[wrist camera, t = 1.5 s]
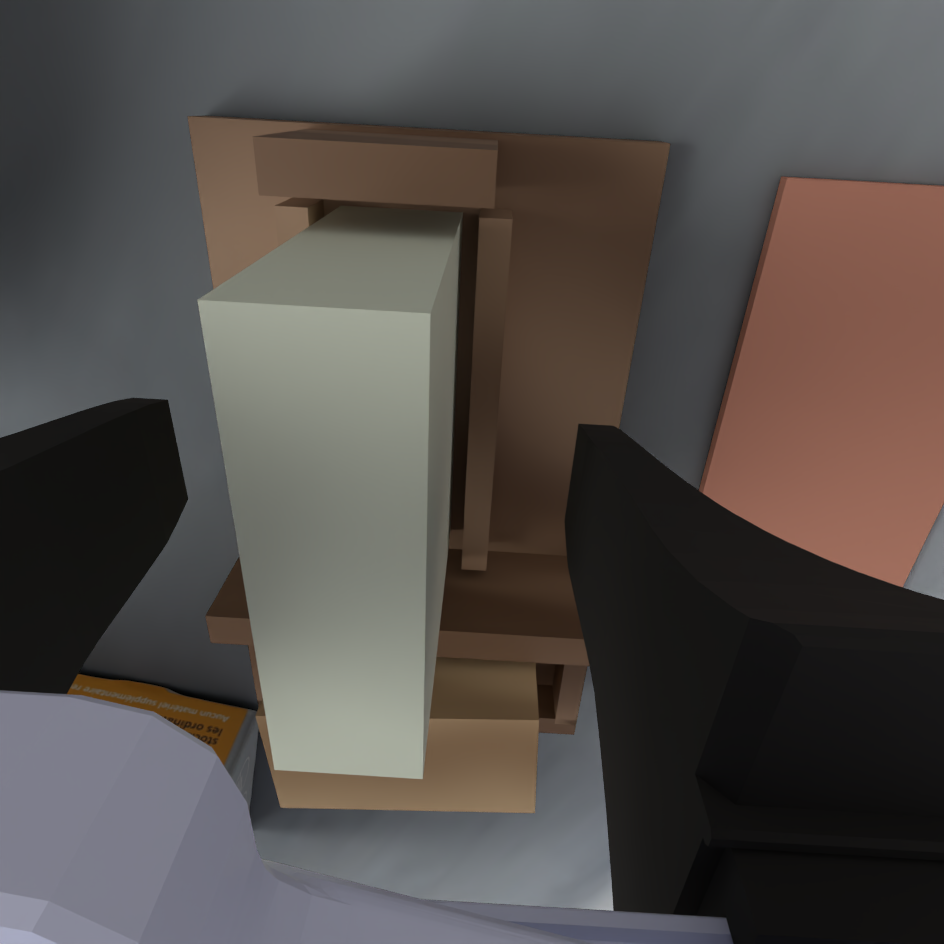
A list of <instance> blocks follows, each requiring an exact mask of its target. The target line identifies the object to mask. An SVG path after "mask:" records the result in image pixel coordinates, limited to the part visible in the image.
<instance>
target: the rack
mask: <svg viewBox="0 0 944 944" xmlns="http://www.w3.org/2000/svg"><path fill="white" fill-rule="evenodd" d="M188 123H189V130H190V136H191V143H192V150H193V156H194V163H195V170H196V176H197V183H198V189H199V196H200V203H201V209H202V216H203V223H204V229H205V236H206V243H207V249H208V256H209V263H210V269H211V276H212V283H213V289H215V288H216V287H218V286H219V285H221V284H222V283H224V282H226V281H227V280H229V279H230V278H232V277H233V276H235V275H236V274H238V273H239V272H241V271H242V270H244V269H245V268H247V267H248V266H250V265H251V264H253V263H254V262H256V261H258V260H259V259H261V258H262V257H264V256H265V255H267V254H268V253H270V252H271V251H273V250H274V249H276V248H277V247H279V246H280V245H282V244H283V243H285V242H286V241H288V240H290V239H291V238H293V237H294V236H296V235H297V234H299V233H300V232H302V231H303V230H305V229H306V228H308V227H309V226H311V225H312V224H314V223H315V222H317V221H318V220H320V219H321V218H323V217H325V216H326V215H328V214H329V213H331V212H332V211H334V210H335V209H337V208H338V207H340V206H358V207H376V208H393V209H411V210H428V211H446V212H463V223H462V249H461V274H460V300H459V326H458V351H457V377H456V403H455V428H454V454H453V480H452V505H451V530H450V539H449V548H448V557H447V566H446V575H445V584H444V593H443V602H442V611H441V620H440V629H439V638H438V647H437V656H436V657H449V658H465V659H482V660H498V661H514V662H530V663H536V682H537V697H538V712H539V732H541V733H557V734H573V735H574V732H575V727H576V722H577V717H578V711H579V706H580V701H581V696H582V691H583V685H584V680H585V675H586V670H587V666H590V665H589V660H588V656H587V651H586V647H585V643H584V638H583V634H582V629H581V625H580V620H579V616H578V611H577V607H576V602H575V598H574V593H573V589H572V584H571V579H570V575H569V570H568V563H567V551H566V538H565V523H564V520H565V513H566V506H567V499H568V492H569V486H570V479H571V472H572V465H573V458H574V451H575V444H576V437H577V431H578V424H594V425H611V426H615V427H617V428H618V429H619V426H620V421H621V415H622V410H623V404H624V399H625V393H626V388H627V382H628V377H629V371H630V365H631V360H632V354H633V349H634V343H635V338H636V332H637V327H638V321H639V316H640V310H641V305H642V299H643V293H644V288H645V282H646V277H647V271H648V266H649V260H650V255H651V249H652V244H653V238H654V233H655V227H656V221H657V216H658V210H659V205H660V199H661V194H662V188H663V183H664V177H665V172H666V166H667V161H668V155H669V149H670V143H666V142H661V141H645V140H627V139H609V138H591V137H574V136H556V135H538V134H520V133H503V132H485V131H467V130H450V129H432V128H414V127H396V126H379V125H361V124H343V123H325V122H308V121H290V120H272V119H255V118H237V117H219V116H188ZM205 617H206V622H207V627H208V631H209V636H210V641H211V643H222V644H238V645H248V648H249V654H250V660H251V666H252V672H253V678H254V684H255V690H256V695H257V701H258V707H259V705H260V703H261V700H262V698H263V697H262V691H261V685H260V679H259V673H258V666H257V660H256V654H255V648H254V642H253V636H252V630H251V624H250V618H249V612H248V605H247V599H246V593H245V587H244V581H243V575H242V569H241V563H240V557H239V558H238V560H237V561H236V563H235V565H234V567H233V568H232V570H231V572H230V574H229V575H228V577H227V579H226V581H225V583H224V584H223V586H222V588H221V590H220V591H219V593H218V595H217V597H216V598H215V600H214V602H213V604H212V605H211V607H210V609H209V611H208V612H207V614H206V616H205Z"/></svg>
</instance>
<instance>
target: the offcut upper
mask: <svg viewBox="0 0 944 944" xmlns="http://www.w3.org/2000/svg"><path fill="white" fill-rule="evenodd" d="M255 717H256V720H257V724H258V728H259V731H260V735H261V738H262V742H263V746H264V749H265V753H266V756H267V760H268V764H269V767H270V771H271V774H272V778H273V782H274V785H275V789H276V793H277V796H278V800H279V803H280V807H281V808H315V809H363V810H410V811H458V812H506V813H535V798H536V776H537V754H538V732H539V712H538V697H537V682H536V667H535V663H530V662H514V661H498V660H482V659H465V658H449V657H436V665H435V674H434V683H433V692H432V701H431V709H430V718H429V727H428V736H427V745H426V754H425V763H424V772H423V779H411V778H396V777H380V776H364V775H348V774H332V773H316V772H300V771H284V770H274V764H273V758H272V752H271V746H270V740H269V734H268V727H267V721H266V715H265V709H264V703H263V698H262V700H261V703H260V705H259V708H258V710H257V713H256V715H255Z"/></svg>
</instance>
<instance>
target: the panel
mask: <svg viewBox="0 0 944 944" xmlns="http://www.w3.org/2000/svg"><path fill="white" fill-rule="evenodd" d="M462 223H463V212H446V211H428V210H411V209H393V208H376V207H358V206H340V207H338V208H337V209H335V210H334V211H332V212H331V213H329V214H328V215H326V216H325V217H323V218H321V219H320V220H318V221H317V222H315V223H314V224H312V225H311V226H309V227H308V228H306V229H305V230H303V231H302V232H300V233H299V234H297V235H296V236H294V237H293V238H291V239H290V240H288V241H286V242H285V243H283V244H282V245H280V246H279V247H277V248H276V249H274V250H273V251H271V252H270V253H268V254H267V255H265V256H264V257H262V258H261V259H259V260H258V261H256V262H254V263H253V264H251V265H250V266H248V267H247V268H245V269H244V270H242V271H241V272H239V273H238V274H236V275H235V276H233V277H232V278H230V279H229V280H227V281H226V282H224V283H222V284H221V285H219V286H218V287H216V288H215V289H213V290H212V291H210V292H209V293H207V294H206V295H204V296H203V297H201V298H200V299H198V300H197V301H198V307H199V313H200V319H201V325H202V331H203V337H204V343H205V349H206V355H207V362H208V368H209V374H210V380H211V386H212V392H213V398H214V404H215V410H216V416H217V423H218V429H219V435H220V441H221V447H222V453H223V459H224V465H225V471H226V477H227V484H228V490H229V496H230V502H231V508H232V514H233V520H234V526H235V532H236V538H237V544H238V551H239V557H240V563H241V569H242V575H243V581H244V587H245V593H246V599H247V605H248V612H249V618H250V624H251V630H252V636H253V642H254V648H255V654H256V660H257V666H258V673H259V679H260V685H261V691H262V697H263V703H264V709H265V715H266V721H267V727H268V734H269V740H270V746H271V752H272V758H273V764H274V770H284V771H300V772H316V773H332V774H348V775H364V776H380V777H396V778H411V779H423V772H424V763H425V754H426V745H427V736H428V727H429V718H430V709H431V701H432V692H433V683H434V674H435V665H436V656H437V647H438V638H439V629H440V620H441V611H442V602H443V593H444V584H445V575H446V566H447V557H448V548H449V539H450V530H451V505H452V480H453V454H454V428H455V403H456V377H457V351H458V326H459V300H460V274H461V249H462Z"/></svg>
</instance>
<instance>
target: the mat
mask: <svg viewBox="0 0 944 944" xmlns="http://www.w3.org/2000/svg"><path fill="white" fill-rule="evenodd" d="M699 491H700V492H702V493H703V494H705V495H706V496H707V497H709V498H710V499H712V500H713V501H715V502H716V503H718V504H719V505H721V506H723V507H724V508H726V509H728V510H729V511H731V512H732V513H734V514H736V515H738V516H740V517H741V518H743V519H745V520H747V521H749V522H750V523H752V524H754V525H756V526H758V527H759V528H761V529H763V530H765V531H767V532H769V533H771V534H773V535H775V536H777V537H779V538H781V539H783V540H785V541H787V542H789V543H791V544H793V545H796V546H798V547H800V548H802V549H805V550H807V551H809V552H811V553H814V554H816V555H818V556H820V557H822V558H825V559H827V560H829V561H832V562H834V563H837V564H840V565H842V566H845V567H847V568H850V569H852V570H855V571H857V572H860V573H863V574H866V575H868V576H871V577H874V578H877V579H880V580H883V581H885V582H888V583H891V584H894V585H897V586H900V587H903V585H904V583H905V581H906V579H907V577H908V575H909V573H910V571H911V569H912V567H913V565H914V563H915V561H916V559H917V557H918V555H919V553H920V551H921V548H922V546H923V544H924V542H925V540H926V538H927V536H928V534H929V532H930V530H931V528H932V526H933V524H934V522H935V520H936V518H937V516H938V514H939V512H940V510H941V508H942V506H943V504H944V186H939V185H922V184H904V183H886V182H869V181H851V180H834V179H816V178H798V177H781V180H780V183H779V187H778V191H777V195H776V199H775V202H774V206H773V210H772V214H771V218H770V221H769V225H768V229H767V233H766V237H765V240H764V244H763V248H762V252H761V256H760V259H759V263H758V267H757V271H756V275H755V278H754V282H753V286H752V290H751V294H750V297H749V301H748V305H747V309H746V313H745V317H744V320H743V324H742V328H741V332H740V336H739V339H738V343H737V347H736V351H735V355H734V358H733V362H732V366H731V370H730V374H729V377H728V381H727V385H726V389H725V393H724V396H723V400H722V404H721V408H720V412H719V415H718V419H717V423H716V427H715V431H714V434H713V438H712V442H711V446H710V450H709V453H708V457H707V461H706V465H705V469H704V472H703V476H702V480H701V484H700V488H699Z"/></svg>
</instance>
